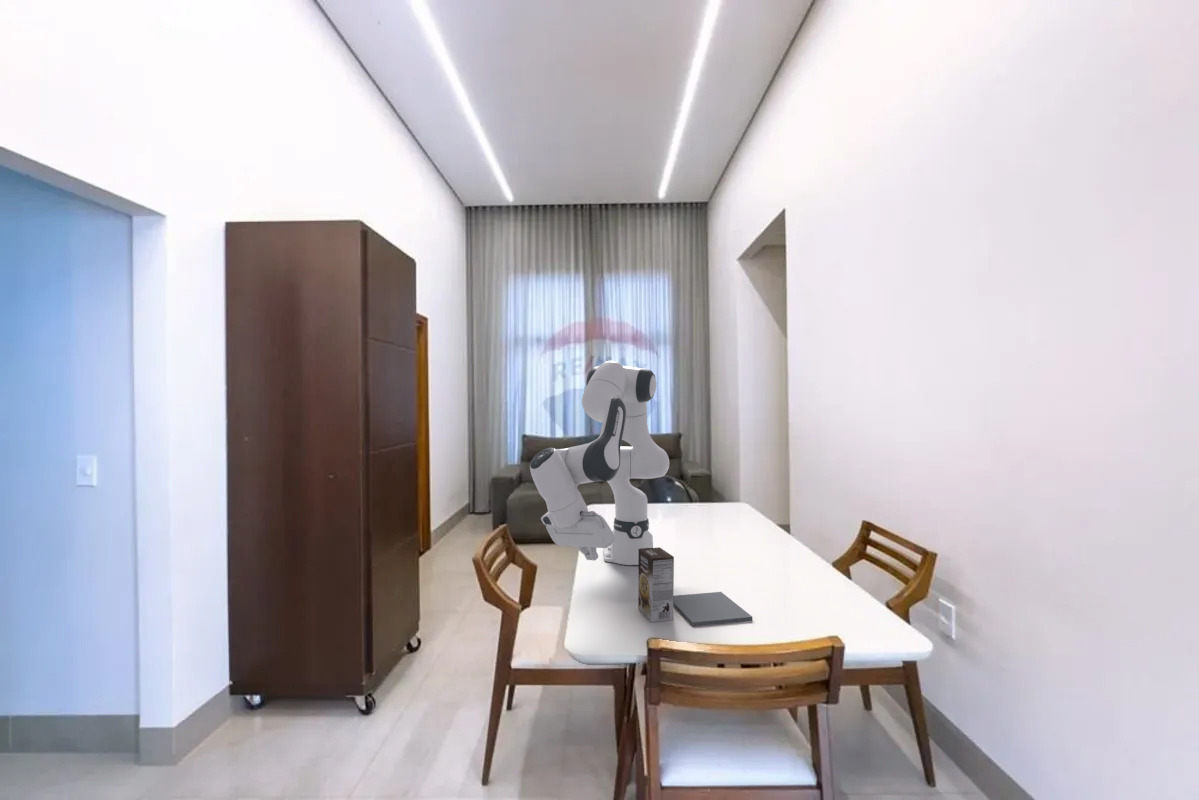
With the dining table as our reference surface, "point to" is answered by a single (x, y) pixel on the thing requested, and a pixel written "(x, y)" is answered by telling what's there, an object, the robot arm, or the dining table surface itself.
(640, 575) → the coffee box
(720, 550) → the dining table surface
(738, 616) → the mat
